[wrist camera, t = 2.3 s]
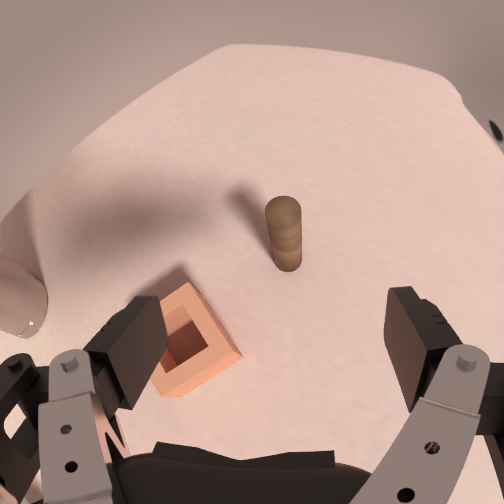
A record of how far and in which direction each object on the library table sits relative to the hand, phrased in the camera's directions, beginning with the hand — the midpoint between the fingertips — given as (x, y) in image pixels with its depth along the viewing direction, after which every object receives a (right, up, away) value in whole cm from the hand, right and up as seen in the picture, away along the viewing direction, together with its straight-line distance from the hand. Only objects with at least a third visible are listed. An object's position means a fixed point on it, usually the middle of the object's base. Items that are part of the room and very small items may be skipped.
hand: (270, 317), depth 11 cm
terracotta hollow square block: (-7, -8, +22) cm, 24 cm away
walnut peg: (+3, +1, +25) cm, 25 cm away
